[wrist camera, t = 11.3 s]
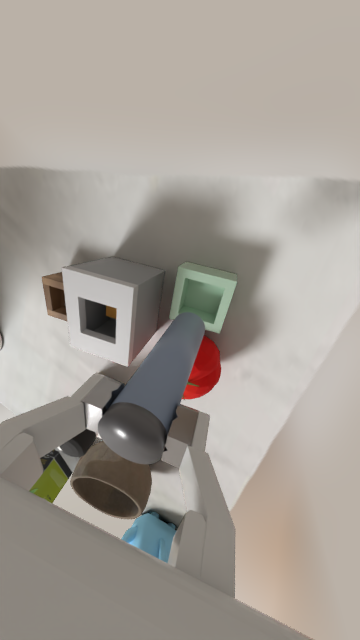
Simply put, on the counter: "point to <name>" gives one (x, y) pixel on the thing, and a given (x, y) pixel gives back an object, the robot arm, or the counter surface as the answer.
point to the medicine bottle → (79, 443)
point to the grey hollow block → (115, 291)
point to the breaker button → (111, 312)
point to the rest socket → (203, 294)
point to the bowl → (112, 482)
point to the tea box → (54, 474)
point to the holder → (55, 295)
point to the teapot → (151, 535)
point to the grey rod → (153, 394)
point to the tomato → (204, 370)
